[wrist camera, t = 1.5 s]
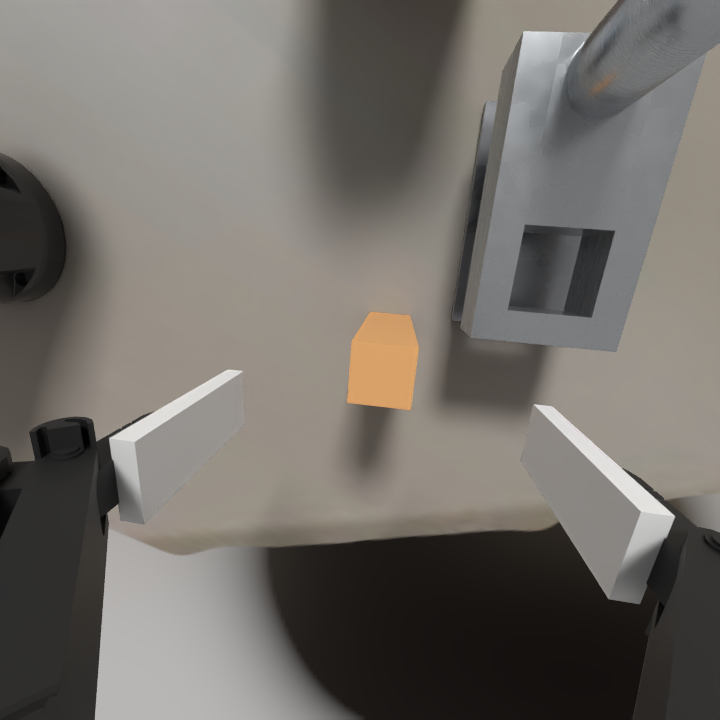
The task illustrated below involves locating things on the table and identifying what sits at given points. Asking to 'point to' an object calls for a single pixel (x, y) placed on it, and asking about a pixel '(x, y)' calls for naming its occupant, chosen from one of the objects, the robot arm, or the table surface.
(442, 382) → the table surface
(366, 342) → the orange square bar
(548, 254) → the grey slotted stand
